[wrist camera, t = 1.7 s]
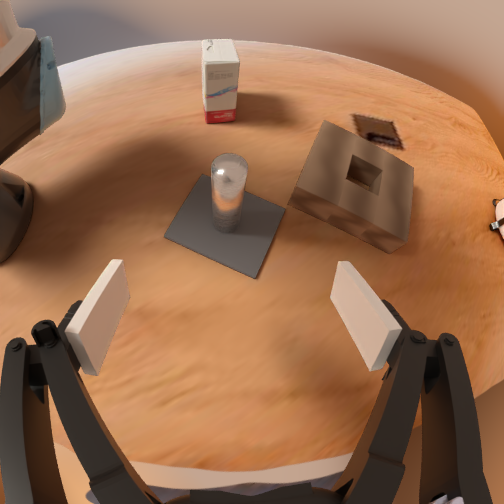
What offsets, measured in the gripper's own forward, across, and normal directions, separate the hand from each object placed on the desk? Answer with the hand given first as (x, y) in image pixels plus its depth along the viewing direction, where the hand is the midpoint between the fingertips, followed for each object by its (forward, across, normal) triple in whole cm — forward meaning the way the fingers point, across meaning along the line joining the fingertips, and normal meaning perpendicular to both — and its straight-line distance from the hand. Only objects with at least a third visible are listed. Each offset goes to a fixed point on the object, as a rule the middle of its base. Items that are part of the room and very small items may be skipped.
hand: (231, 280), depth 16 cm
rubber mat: (+18, 0, -3) cm, 18 cm away
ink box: (+34, -2, +12) cm, 36 cm away
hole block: (+22, +18, +1) cm, 29 cm away
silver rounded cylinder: (+18, 0, -3) cm, 18 cm away
